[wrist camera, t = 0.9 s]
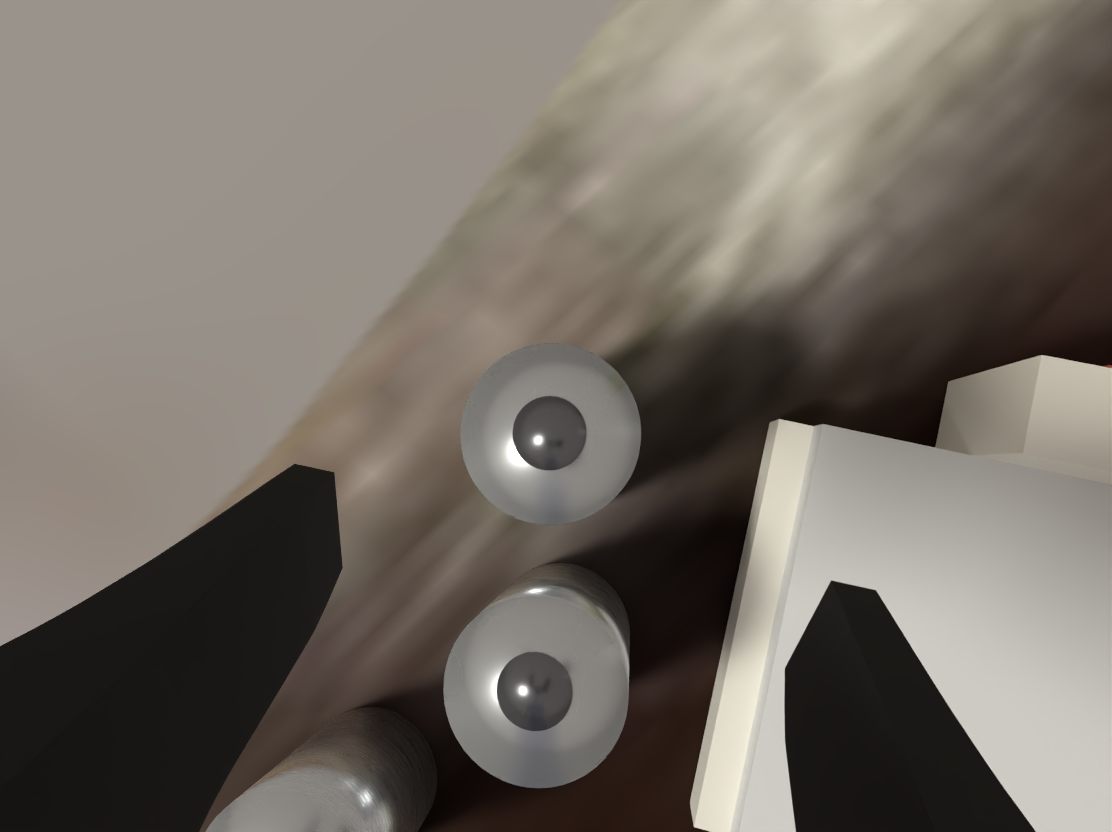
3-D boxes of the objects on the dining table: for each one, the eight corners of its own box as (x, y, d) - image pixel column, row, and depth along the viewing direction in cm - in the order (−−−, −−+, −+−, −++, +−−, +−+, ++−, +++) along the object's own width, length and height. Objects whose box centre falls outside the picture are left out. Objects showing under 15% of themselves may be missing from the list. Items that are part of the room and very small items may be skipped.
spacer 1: (419, 864, 22) (340, 1009, 16) (292, 824, 23) (171, 951, 17) (450, 727, 23) (384, 819, 17) (324, 691, 23) (215, 768, 17)
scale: (1338, 986, 19) (1583, 1165, 14) (689, 801, 21) (706, 901, 17) (1423, 458, 20) (1684, 454, 15) (788, 333, 22) (832, 294, 17)
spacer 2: (623, 524, 22) (619, 544, 16) (492, 493, 23) (441, 501, 17) (652, 391, 23) (659, 363, 17) (521, 363, 23) (482, 326, 17)
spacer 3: (613, 719, 22) (605, 812, 16) (479, 682, 23) (423, 759, 17) (643, 581, 22) (646, 622, 16) (510, 548, 23) (466, 576, 17)
